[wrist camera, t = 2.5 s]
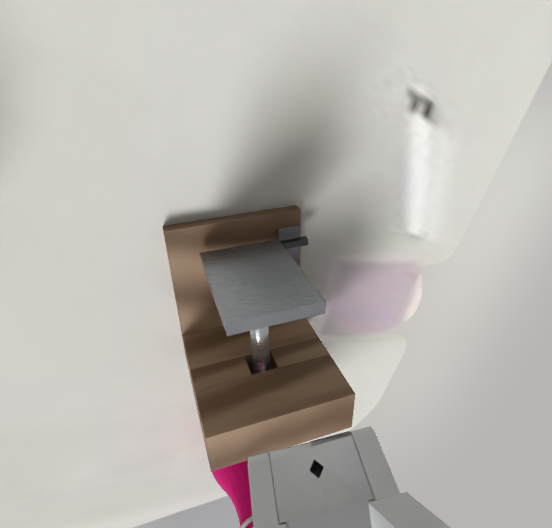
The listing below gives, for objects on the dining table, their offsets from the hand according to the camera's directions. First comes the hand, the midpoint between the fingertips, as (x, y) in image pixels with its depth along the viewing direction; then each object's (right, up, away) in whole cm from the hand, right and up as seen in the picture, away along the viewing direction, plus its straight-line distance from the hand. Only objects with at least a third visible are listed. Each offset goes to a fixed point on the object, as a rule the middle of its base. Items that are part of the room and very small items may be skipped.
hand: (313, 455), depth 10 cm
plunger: (-3, +1, +29) cm, 29 cm away
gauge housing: (-5, +2, +30) cm, 31 cm away
